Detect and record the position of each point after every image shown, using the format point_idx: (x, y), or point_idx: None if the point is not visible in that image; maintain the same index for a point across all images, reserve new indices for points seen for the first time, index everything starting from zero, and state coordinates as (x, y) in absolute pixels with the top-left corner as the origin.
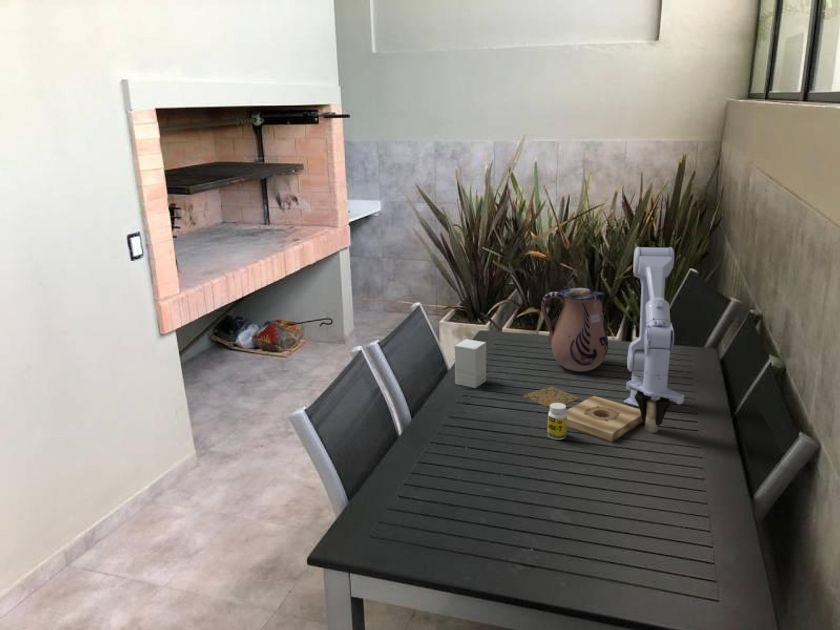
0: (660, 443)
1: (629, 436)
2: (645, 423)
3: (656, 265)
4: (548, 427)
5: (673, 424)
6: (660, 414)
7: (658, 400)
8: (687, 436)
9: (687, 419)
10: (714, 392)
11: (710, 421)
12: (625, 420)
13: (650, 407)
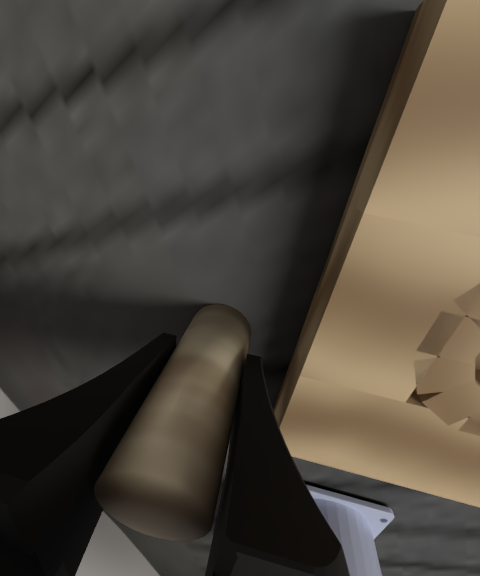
0: (129, 213)
1: (302, 211)
2: (240, 343)
3: None
4: None
5: None
6: (98, 377)
7: (2, 530)
8: (82, 336)
9: None
10: (164, 569)
11: None
12: (360, 322)
13: (169, 433)
